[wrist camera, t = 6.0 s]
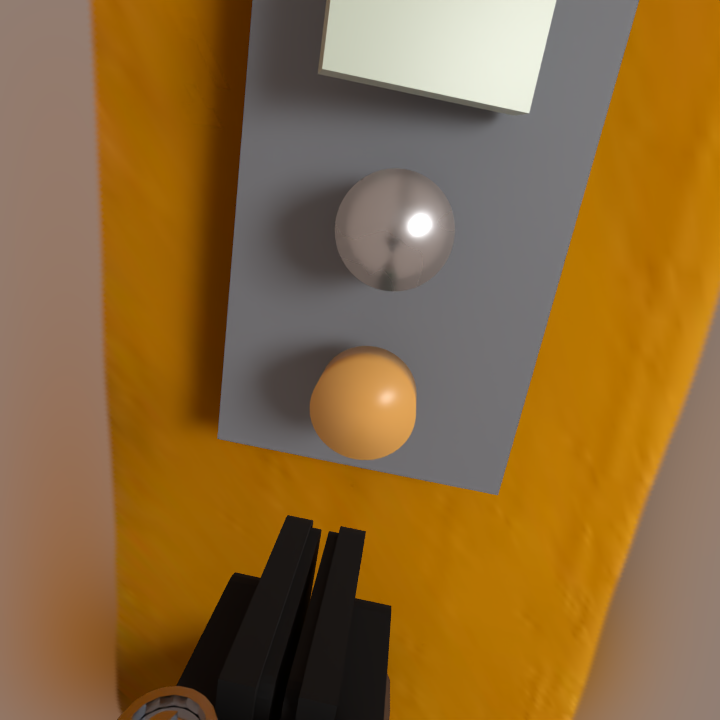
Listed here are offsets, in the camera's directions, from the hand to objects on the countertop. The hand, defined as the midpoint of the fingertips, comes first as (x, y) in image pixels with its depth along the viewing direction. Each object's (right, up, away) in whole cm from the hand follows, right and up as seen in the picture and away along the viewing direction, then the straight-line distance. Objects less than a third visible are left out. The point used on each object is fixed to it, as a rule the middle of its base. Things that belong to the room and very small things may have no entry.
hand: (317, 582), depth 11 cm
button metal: (+2, +9, +7) cm, 11 cm away
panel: (+3, +10, +10) cm, 15 cm away
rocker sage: (+3, +15, +5) cm, 16 cm away
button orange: (+1, +3, +9) cm, 9 cm away
